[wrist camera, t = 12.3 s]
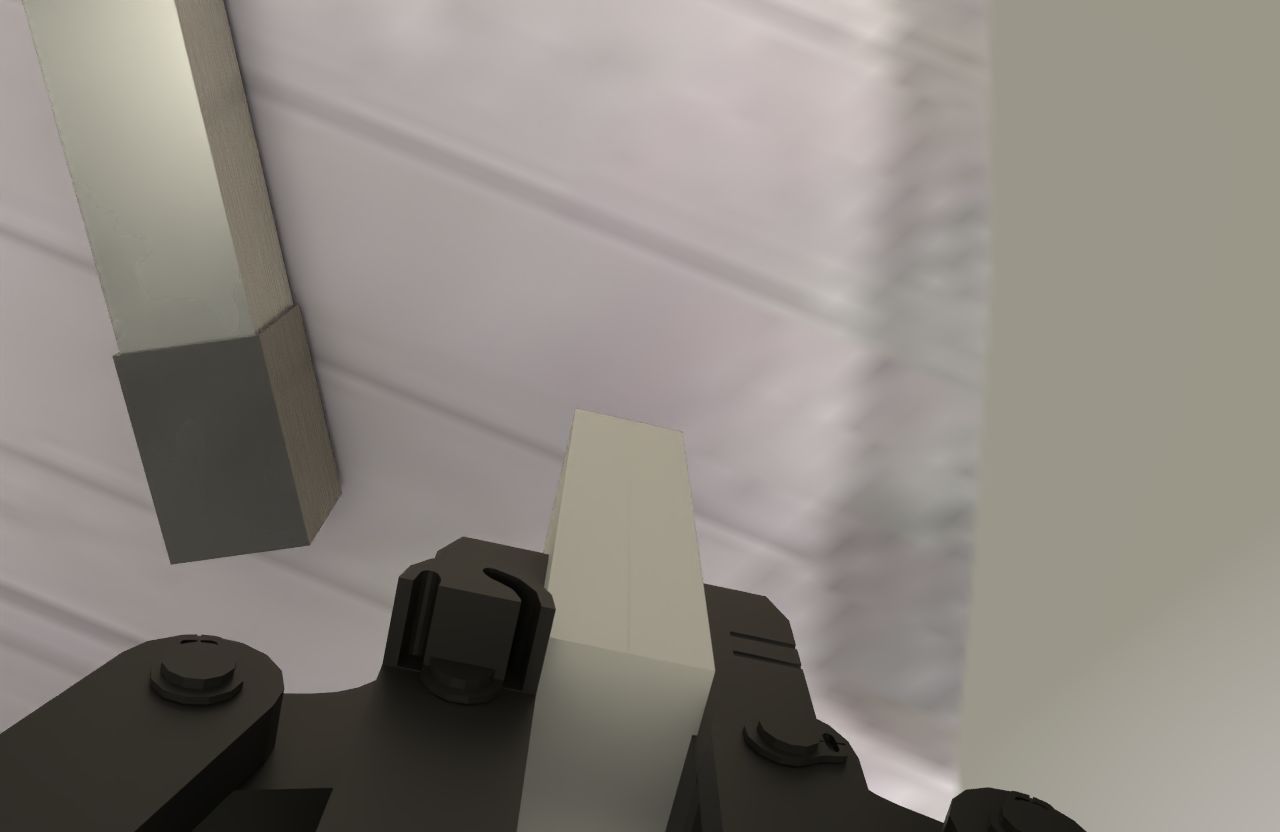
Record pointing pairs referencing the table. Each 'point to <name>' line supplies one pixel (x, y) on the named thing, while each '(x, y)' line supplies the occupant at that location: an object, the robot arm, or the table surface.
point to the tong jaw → (189, 271)
